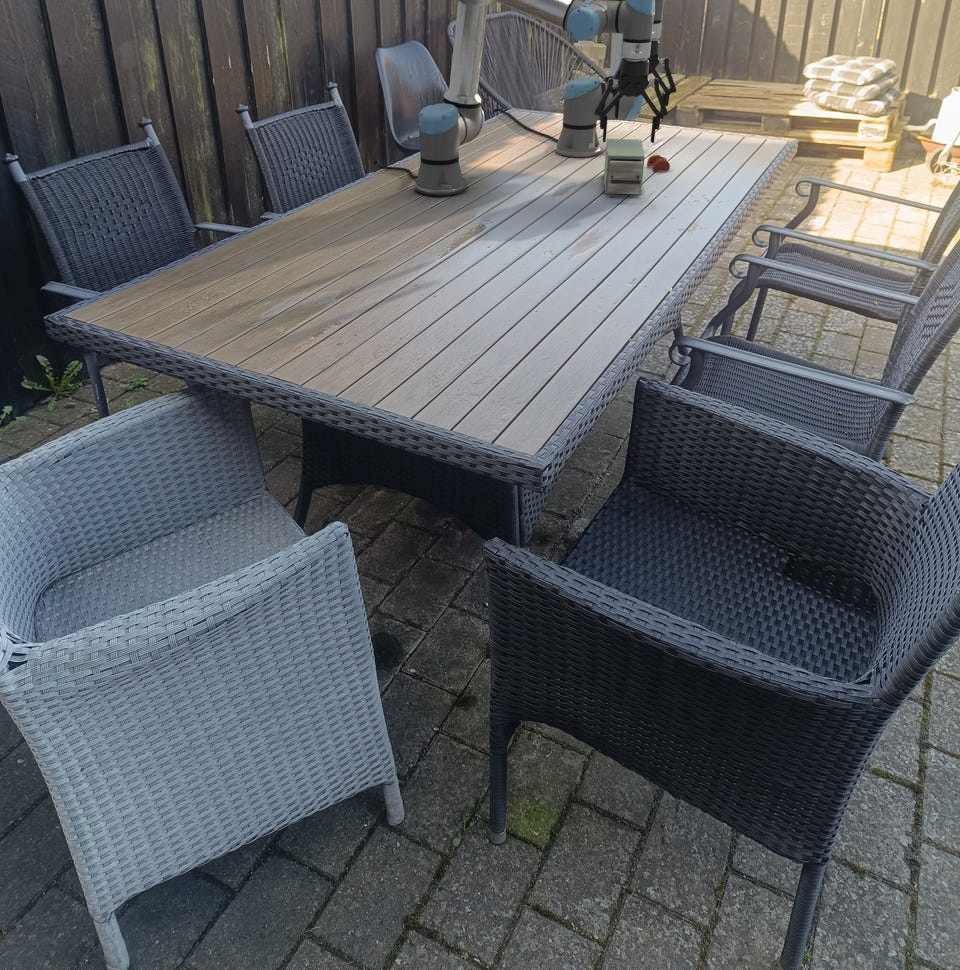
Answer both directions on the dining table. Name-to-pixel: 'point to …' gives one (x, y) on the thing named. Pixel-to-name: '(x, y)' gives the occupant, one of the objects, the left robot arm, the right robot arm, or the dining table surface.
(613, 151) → the cabinet
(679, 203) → the dining table surface
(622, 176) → the drawer
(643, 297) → the dining table surface
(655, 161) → the red-brown rounded lump
